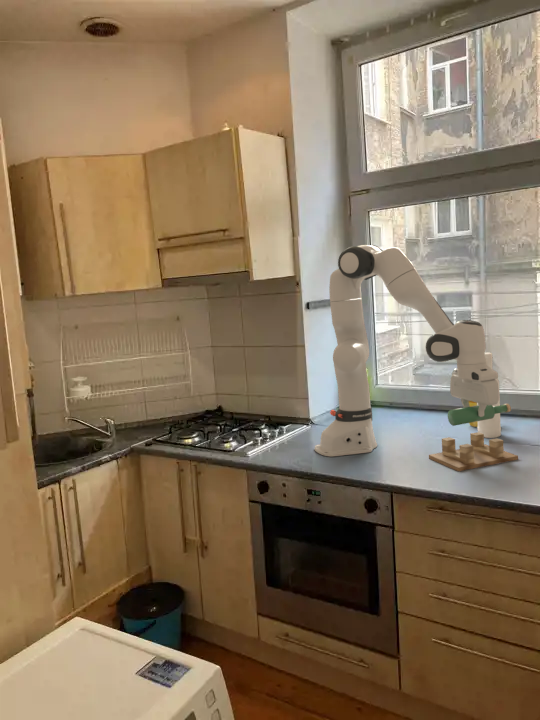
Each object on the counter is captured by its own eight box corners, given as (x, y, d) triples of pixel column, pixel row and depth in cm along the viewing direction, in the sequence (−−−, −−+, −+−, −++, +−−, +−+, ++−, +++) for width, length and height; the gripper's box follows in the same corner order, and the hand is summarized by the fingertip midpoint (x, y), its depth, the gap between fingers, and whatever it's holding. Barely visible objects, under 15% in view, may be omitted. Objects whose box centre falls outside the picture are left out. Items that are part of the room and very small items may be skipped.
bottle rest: (458, 471, 187) (457, 450, 186) (428, 458, 202) (428, 439, 201) (518, 459, 193) (517, 439, 193) (485, 447, 208) (484, 429, 208)
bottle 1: (502, 437, 218) (500, 354, 215) (479, 438, 220) (476, 355, 216) (499, 432, 226) (496, 351, 222) (476, 432, 228) (473, 352, 224)
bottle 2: (457, 427, 192) (456, 411, 191) (447, 423, 196) (447, 408, 195) (513, 416, 198) (513, 401, 197) (503, 413, 203) (502, 398, 202)
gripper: (444, 369, 203) (446, 410, 205) (484, 376, 184) (486, 421, 185) (460, 366, 205) (462, 407, 207) (501, 373, 186) (503, 418, 187)
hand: (474, 414), depth 196 cm, fingers closed on bottle 2, 5 cm apart
